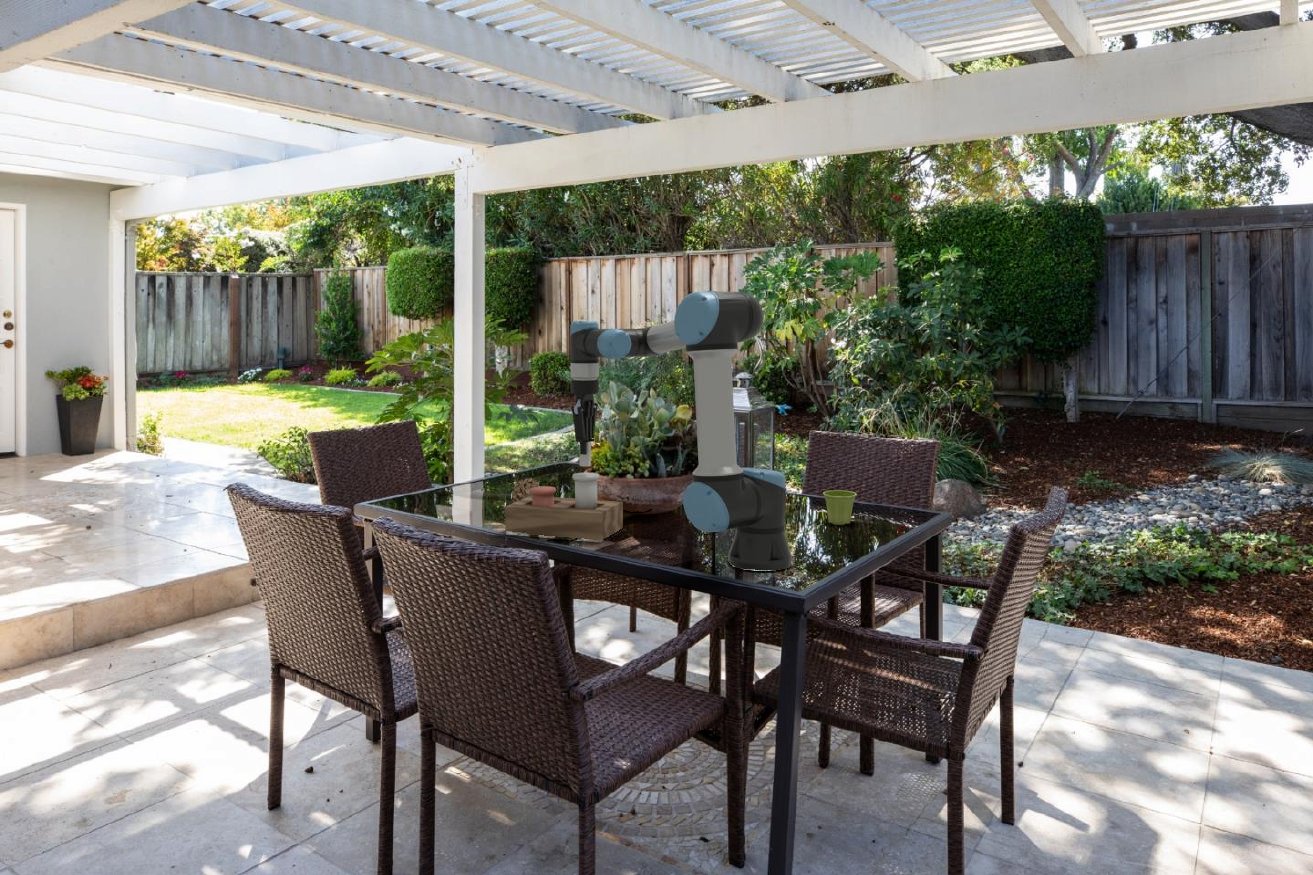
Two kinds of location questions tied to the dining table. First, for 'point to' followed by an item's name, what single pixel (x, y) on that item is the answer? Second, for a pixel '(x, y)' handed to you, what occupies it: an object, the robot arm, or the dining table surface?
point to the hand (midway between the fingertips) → (585, 465)
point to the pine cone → (523, 489)
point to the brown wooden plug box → (565, 519)
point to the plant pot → (839, 506)
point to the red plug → (543, 495)
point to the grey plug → (586, 490)
